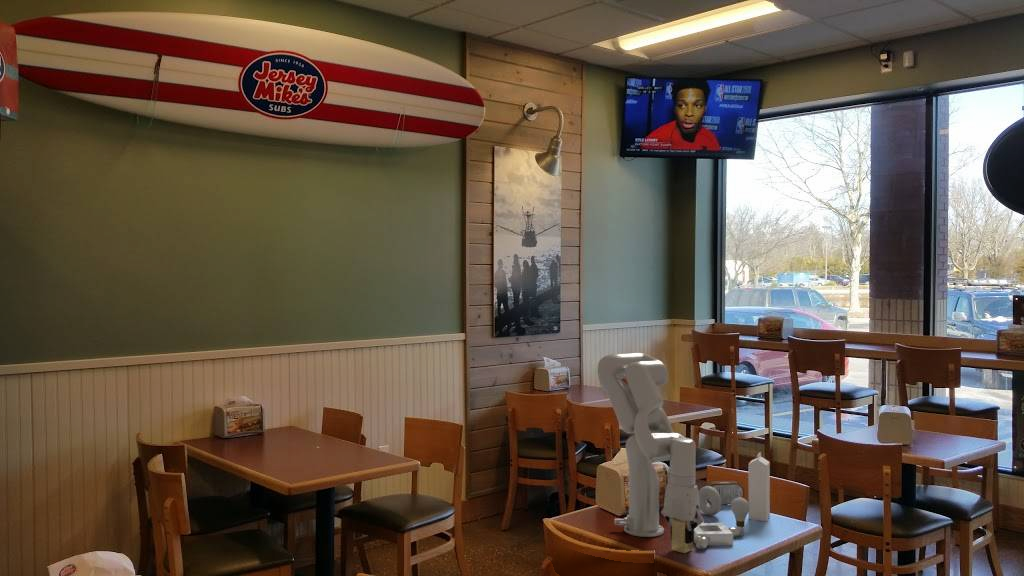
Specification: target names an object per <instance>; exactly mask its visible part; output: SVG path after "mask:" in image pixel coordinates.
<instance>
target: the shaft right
mask: <svg viewBox="0 0 1024 576" xmlns="http://www.w3.org/2000/svg"><path fill="white" fill-rule="evenodd" d="M727 528H728V529H729V530H730V531H731V532H732V533H733V538H739V537H740V538H741V537H743V536H744V535H745V531H744V527H743V528H742V527H737V526H733V527H727Z"/></svg>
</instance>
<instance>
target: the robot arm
mask: <svg viewBox="0 0 1024 576" xmlns="http://www.w3.org/2000/svg"><path fill="white" fill-rule="evenodd" d="M597 377H598V381H599V384H600V386H601V388H602V390H603V391H604V392H605V394H606V396H607V398H608V399H609V401H610V404H611V406H612V408H613V410H614V411H613V412H614V414H615V416H616V418H617V421H618V423H619V426H620V427H621V429H622V431H624V433H626V434H632V435H630V436H629V437H628V438H627V440H626V442H625V453H626V459H627V466H628V514H627V515H626V517H624V518H614V520H613V521H614V522H613V523H614V525H617V526H620V527H624V528H623V530H624V533H626V534H629V535H631V536H635V537H642V538H644V537H645V538H651V537H652V538H653V537H658V536H659V537H660V536H662V535H663V534H664V533H665V528H664V526H662V525H660V513H661V514H662V515H663V517H664V518H665V520H666V521H667V522H668V526H670V540H671V541H672V520H673V519H679V520H683V521H686V523H687V528H688V530H686V544H689V543H692V544H693V542H694V541H693V540H694V529H695V528H696V527H697V526H698V525H700V524H702V523H705V519H704V517H703V516H702V514H701V509H700V501H699V489H698V485H696V459H697V457H696V455H697V454H696V451H697V450H696V448H697V446H696V441H695V440H693V439H692V438H689V437H685V436H684V435H682V434H680V433H679V432H678V433H677V432H675V431H674V429H673V426H672V424H671V422H670V420H669V418H668V415H667V414H666V412H665V410H664V408H662V407H663V405H664V398H663V396H662V394H661V391H660V389H659V387H662V386H664V385H667V382H668V380H669V371H668V369H667V366H666V365H665V364H664V362H663V361H661V360H659V359H657V358H655V357H653V356H650V355H648V354H646V353H642V352H631V353H630V352H629V353H627V352H626V353H612V354H611V353H610V354H607V355H604V356H603V357H601V358H600V360H599V361H598V363H597ZM622 379H623V380H624V379H625V380H626V382H627V383H626V382H624V381H623V380H622ZM666 461H669V472H667V473H666V478H668V480H669V482H667V483H666V486H665V492H664V500H663V503H664V504H663V508H662V509H661V511H660V486H659V485H660V484H659V483H660V479H659V477H660V476H659V473H658V472H657V470H656V468H655V467H654V463H658V462H666ZM695 519H697V520H695Z"/></svg>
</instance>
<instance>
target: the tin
mask: <svg viewBox="0 0 1024 576" xmlns="http://www.w3.org/2000/svg"><path fill="white" fill-rule="evenodd" d="M705 486H711V487H713V488H715V489H716V490H717V492H718V493H719V495H720V498H721V506H728V505H727V504H731V503H732V501H733V500H734V499H735V498H738V497H741V498H744V497H745V490H744V487H743V486H742V484H740V483H739V482H738V481H736V480H717V481H716V480H712V481H710V482H708V483H707V484H706V485H705ZM744 499H745V498H744ZM707 501H708V504H709V505H711V499H710V497H709V496H708V497H707Z"/></svg>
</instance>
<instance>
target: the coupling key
mask: <svg viewBox="0 0 1024 576" xmlns="http://www.w3.org/2000/svg"><path fill="white" fill-rule="evenodd" d="M686 530H688V528H687V523H686V521H683V520H679V519H673V520H672V540H671V550H672V551H675V552H679V553H682V554H687V553H688V552H690V551H693V542H692V543H689V544H686Z"/></svg>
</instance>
